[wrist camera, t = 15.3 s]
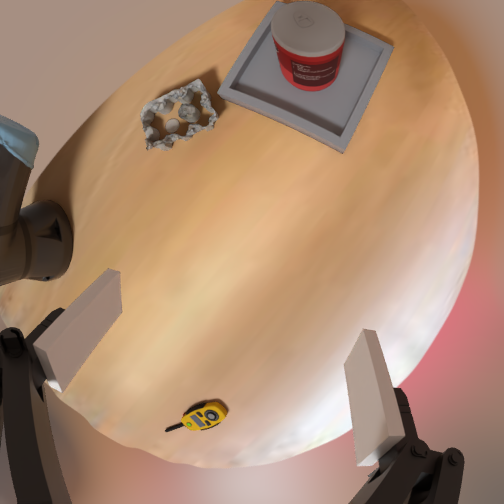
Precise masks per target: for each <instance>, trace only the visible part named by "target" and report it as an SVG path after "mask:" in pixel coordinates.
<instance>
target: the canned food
mask: <svg viewBox="0 0 504 504" xmlns="http://www.w3.org/2000/svg"><path fill="white" fill-rule="evenodd" d="M271 32H272V37H273V41H274V44H275V48H276V52H277V56H278V60H279V64H280V68H281V71H282V74H283V76H284V77H285V79H286V80H287V81H288V82H289V83H291V84H292V85H293V86H295V87H296V88H298V89H301V90H304V91H310V92H315V91H320V90H323V89H325V88H327V87H329V86H330V85H331V84H332V83H333V82H334V81H335V79H336V78H337V75H338V71H339V66H340V61H341V56H342V51H343V46H344V40H345V27H344V23H343V21H342V19H341V18H340V17H339V15H338V14H337V13H336V12H335V11H333V10H332V9H331V8H329V7H327V6H325V5H323V4H320V3H317V2H312V1H296V2H292V3H288V4H286V5H284V6H282V7H281V8H279V9H278V10H277V11H276V12H275V14H274V15H273V17H272V20H271Z"/></svg>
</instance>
